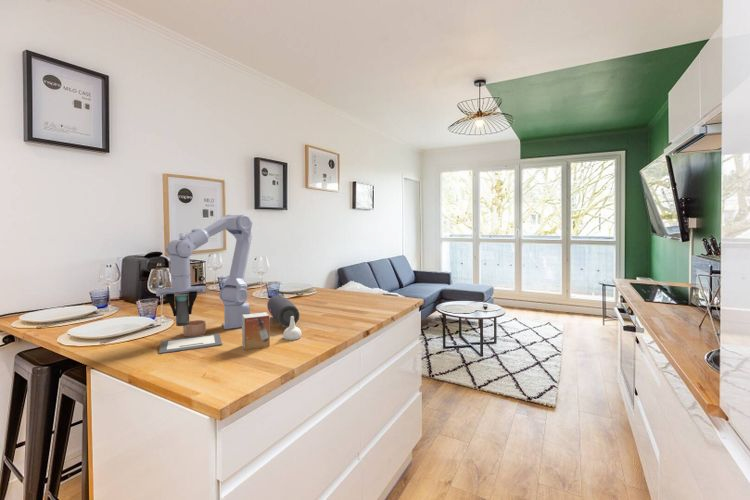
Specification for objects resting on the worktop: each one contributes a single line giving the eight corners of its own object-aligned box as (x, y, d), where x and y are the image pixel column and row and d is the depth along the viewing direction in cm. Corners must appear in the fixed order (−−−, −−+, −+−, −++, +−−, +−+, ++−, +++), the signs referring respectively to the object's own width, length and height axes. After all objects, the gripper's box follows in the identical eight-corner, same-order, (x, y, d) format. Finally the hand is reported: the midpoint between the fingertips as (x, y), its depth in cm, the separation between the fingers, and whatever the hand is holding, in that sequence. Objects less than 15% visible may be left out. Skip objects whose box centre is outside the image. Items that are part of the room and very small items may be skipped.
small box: (244, 350, 111) (243, 318, 110) (242, 345, 116) (241, 314, 115) (270, 346, 114) (269, 315, 114) (267, 341, 119) (266, 311, 118)
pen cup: (205, 329, 133) (205, 319, 132) (206, 334, 126) (205, 324, 126) (183, 332, 129) (183, 321, 129) (183, 337, 123) (182, 326, 123)
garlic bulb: (284, 337, 126) (281, 315, 125) (301, 334, 127) (299, 313, 127) (283, 342, 120) (281, 320, 119) (302, 339, 121) (299, 317, 121)
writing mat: (219, 334, 127) (219, 332, 127) (221, 345, 116) (221, 343, 116) (162, 341, 119) (161, 340, 119) (158, 354, 107) (158, 352, 107)
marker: (189, 322, 122) (187, 294, 121) (189, 325, 118) (188, 296, 118) (175, 323, 120) (174, 295, 119) (176, 326, 116) (175, 297, 115)
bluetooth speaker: (265, 317, 151) (265, 294, 150) (287, 315, 155) (287, 292, 154) (276, 331, 130) (276, 305, 130) (301, 328, 135) (300, 303, 134)
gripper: (203, 272, 125) (204, 309, 126) (155, 275, 117) (157, 314, 118) (205, 274, 119) (206, 313, 120) (155, 278, 111) (157, 319, 112)
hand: (182, 314), depth 119 cm, fingers closed on marker, 4 cm apart
